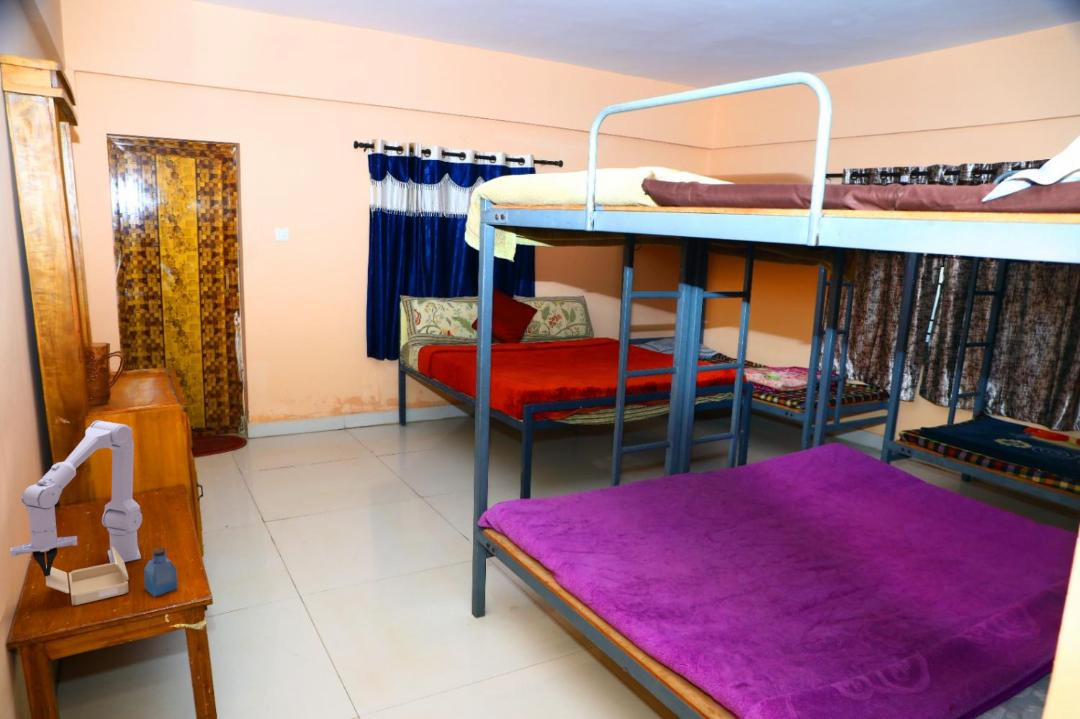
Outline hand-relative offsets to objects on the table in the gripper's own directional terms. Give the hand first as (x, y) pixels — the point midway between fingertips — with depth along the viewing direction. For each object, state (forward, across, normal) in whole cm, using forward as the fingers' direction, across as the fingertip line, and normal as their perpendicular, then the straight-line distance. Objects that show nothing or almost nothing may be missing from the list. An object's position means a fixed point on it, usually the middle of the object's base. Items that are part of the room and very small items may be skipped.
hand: (47, 574), depth 188 cm
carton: (+7, +12, 0) cm, 14 cm away
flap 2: (+4, +18, 0) cm, 19 cm away
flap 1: (+4, +5, 0) cm, 6 cm away
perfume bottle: (+8, +26, -9) cm, 29 cm away
